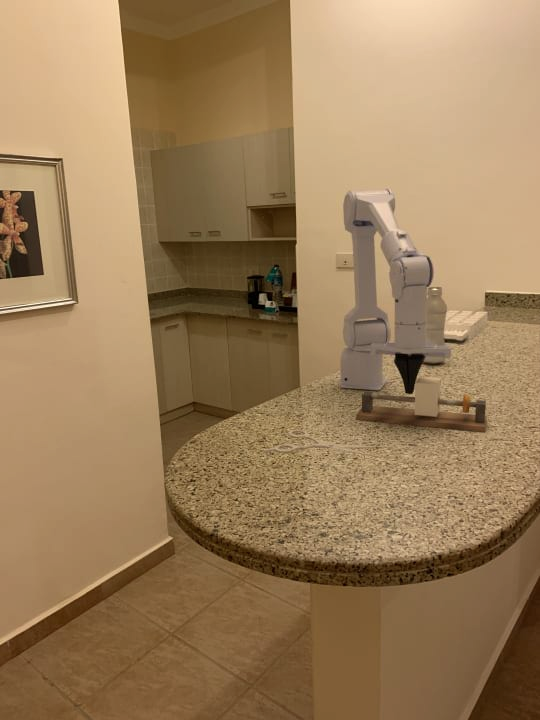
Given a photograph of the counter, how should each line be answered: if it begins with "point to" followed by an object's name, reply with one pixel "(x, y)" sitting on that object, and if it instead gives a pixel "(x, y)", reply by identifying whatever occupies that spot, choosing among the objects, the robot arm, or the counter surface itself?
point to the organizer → (464, 324)
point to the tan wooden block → (427, 396)
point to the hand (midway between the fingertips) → (409, 392)
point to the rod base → (409, 417)
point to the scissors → (317, 445)
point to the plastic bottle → (435, 321)
